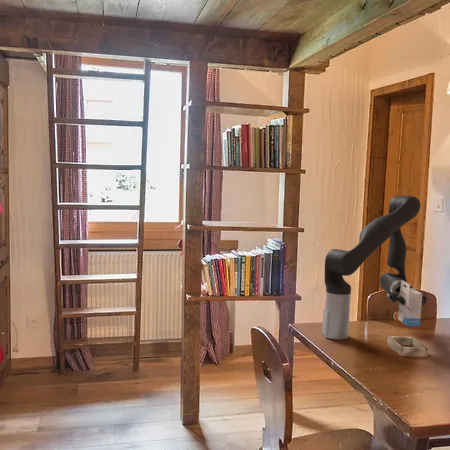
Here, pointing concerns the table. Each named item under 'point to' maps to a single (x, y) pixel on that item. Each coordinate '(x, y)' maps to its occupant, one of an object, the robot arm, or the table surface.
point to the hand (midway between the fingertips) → (412, 302)
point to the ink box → (410, 305)
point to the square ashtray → (413, 351)
